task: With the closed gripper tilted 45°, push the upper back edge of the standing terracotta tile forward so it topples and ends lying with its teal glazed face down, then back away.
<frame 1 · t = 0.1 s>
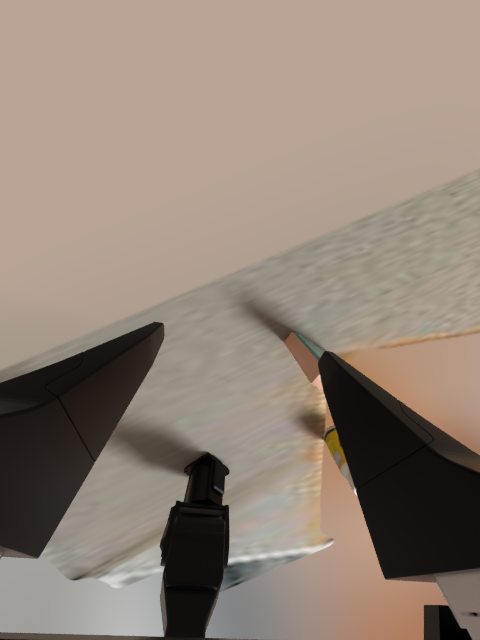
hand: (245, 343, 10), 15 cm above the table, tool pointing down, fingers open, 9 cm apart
tile: (307, 349, 27), on the table
supplement bottle: (334, 432, 32), on the table
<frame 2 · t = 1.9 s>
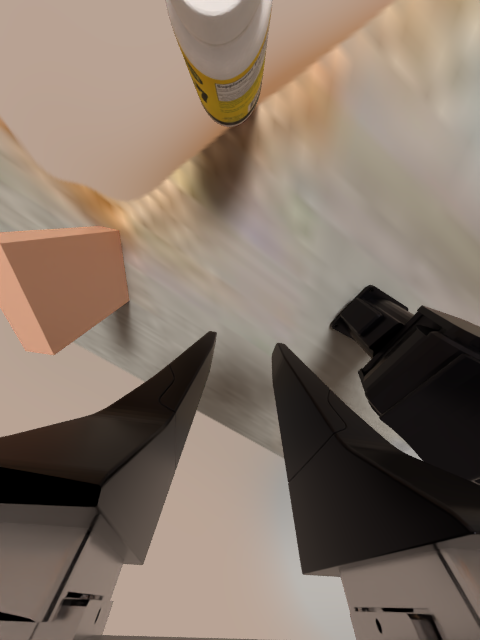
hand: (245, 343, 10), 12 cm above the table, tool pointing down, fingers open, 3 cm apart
tile: (115, 267, 20), on the table
supplement bottle: (229, 84, 13), on the table
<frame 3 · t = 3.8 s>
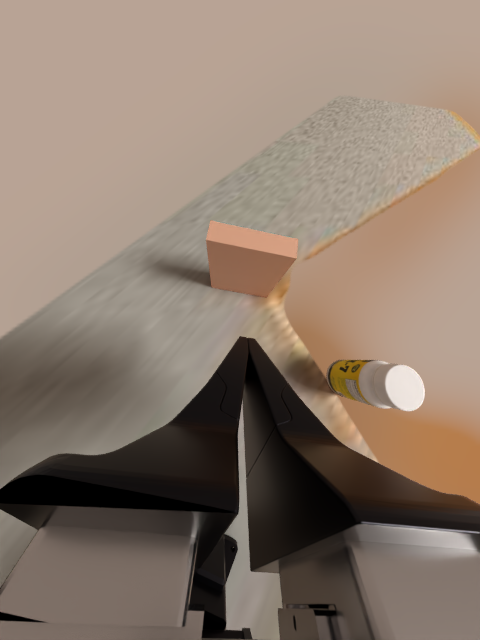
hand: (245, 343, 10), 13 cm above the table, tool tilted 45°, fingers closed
tile: (240, 286, 25), on the table
supplement bottle: (340, 377, 24), on the table
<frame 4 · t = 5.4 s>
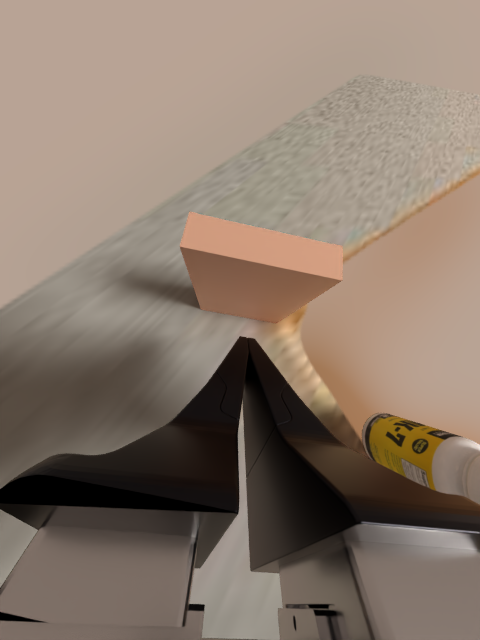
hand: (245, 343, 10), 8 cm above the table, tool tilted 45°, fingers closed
tile: (241, 307, 18), on the table
supplement bottle: (380, 437, 17), on the table
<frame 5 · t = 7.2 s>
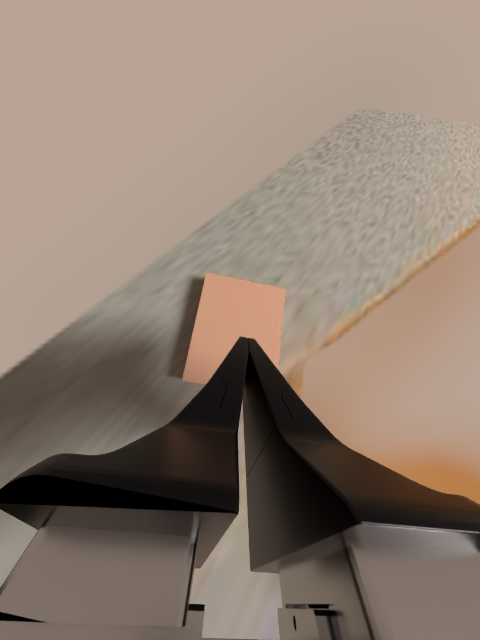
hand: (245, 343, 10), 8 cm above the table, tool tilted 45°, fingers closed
tile: (229, 386, 15), point 1 cm above the table, tilted 90°
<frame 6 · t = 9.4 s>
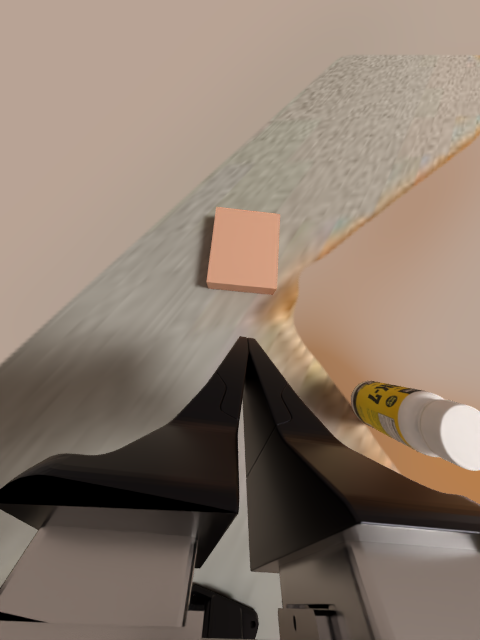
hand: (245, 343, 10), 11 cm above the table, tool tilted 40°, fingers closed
tile: (241, 288, 20), point 1 cm above the table, tilted 90°
supplement bottle: (368, 401, 20), on the table
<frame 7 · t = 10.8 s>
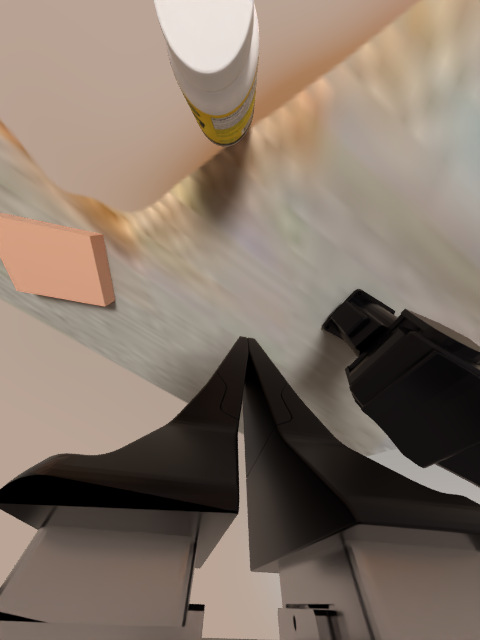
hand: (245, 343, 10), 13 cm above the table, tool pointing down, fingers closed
tile: (104, 272, 20), point 1 cm above the table, tilted 90°
supplement bottle: (224, 109, 14), on the table
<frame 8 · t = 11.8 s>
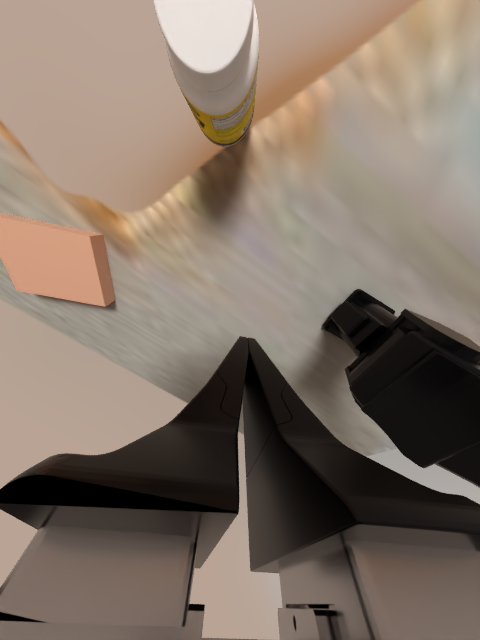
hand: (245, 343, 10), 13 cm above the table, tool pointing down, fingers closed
tile: (104, 272, 20), point 1 cm above the table, tilted 90°
supplement bottle: (224, 109, 14), on the table
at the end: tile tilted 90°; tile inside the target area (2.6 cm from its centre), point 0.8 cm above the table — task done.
